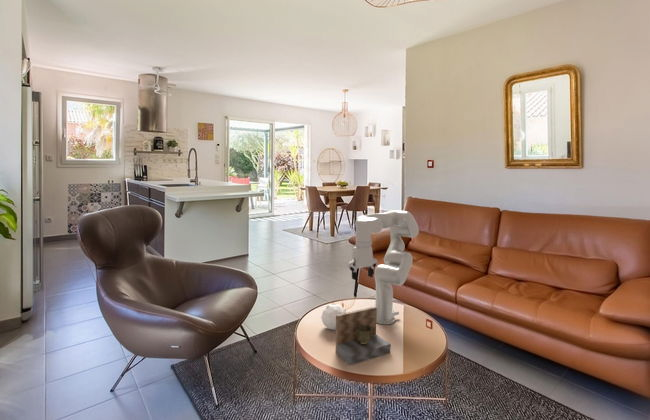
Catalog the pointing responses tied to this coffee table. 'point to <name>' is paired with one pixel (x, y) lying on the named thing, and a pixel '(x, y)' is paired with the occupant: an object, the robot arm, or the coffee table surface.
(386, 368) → the coffee table surface
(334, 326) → the geodesic sphere
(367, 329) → the cup
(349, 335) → the board
